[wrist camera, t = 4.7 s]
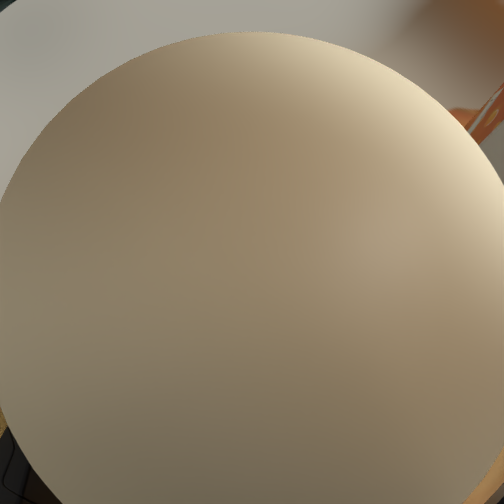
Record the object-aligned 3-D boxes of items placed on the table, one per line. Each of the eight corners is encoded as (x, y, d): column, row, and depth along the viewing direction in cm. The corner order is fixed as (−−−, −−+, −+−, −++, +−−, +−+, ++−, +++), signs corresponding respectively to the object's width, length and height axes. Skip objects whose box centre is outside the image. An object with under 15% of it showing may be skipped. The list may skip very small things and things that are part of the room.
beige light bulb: (254, 409, 14) (438, 575, 1) (148, 361, 14) (-77, 392, 1) (298, 308, 16) (529, 180, 3) (198, 261, 16) (198, -2, 3)
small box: (416, 173, 21) (517, 62, 9) (467, 228, 20) (579, 142, 8) (375, 234, 18) (526, 91, 6) (438, 301, 17) (604, 214, 5)
